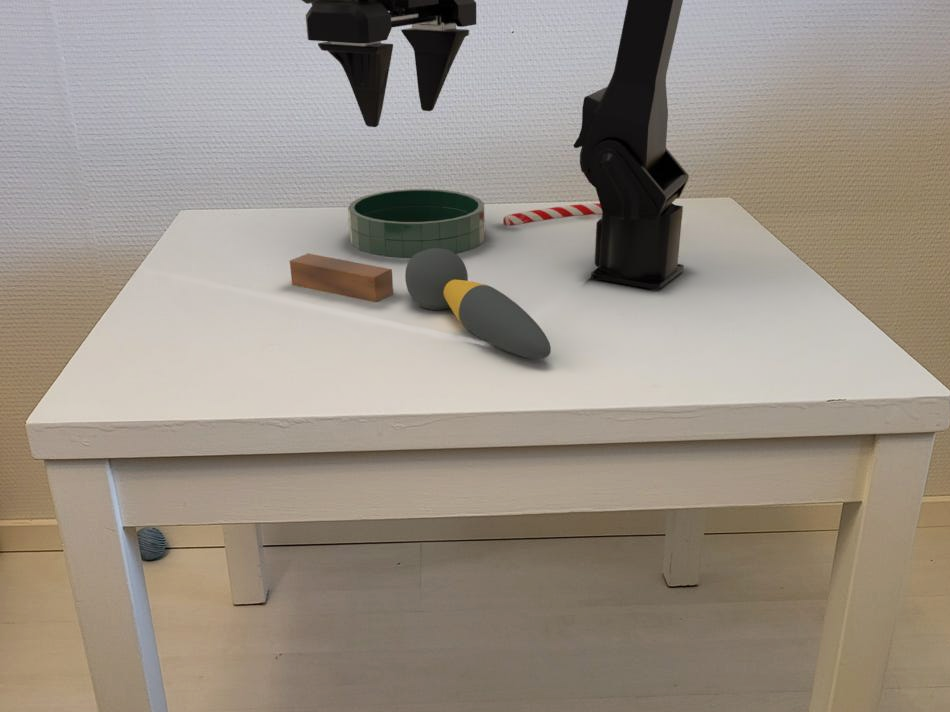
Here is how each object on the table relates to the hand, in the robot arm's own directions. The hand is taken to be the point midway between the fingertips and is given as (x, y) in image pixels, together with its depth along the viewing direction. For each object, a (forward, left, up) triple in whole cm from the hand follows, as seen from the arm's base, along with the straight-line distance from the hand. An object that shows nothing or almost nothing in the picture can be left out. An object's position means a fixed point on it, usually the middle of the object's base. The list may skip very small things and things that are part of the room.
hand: (400, 118), depth 91 cm
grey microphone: (-17, +15, -12) cm, 26 cm away
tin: (0, -2, -12) cm, 12 cm away
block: (-3, +14, -12) cm, 19 cm away
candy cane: (-11, -15, -12) cm, 22 cm away
